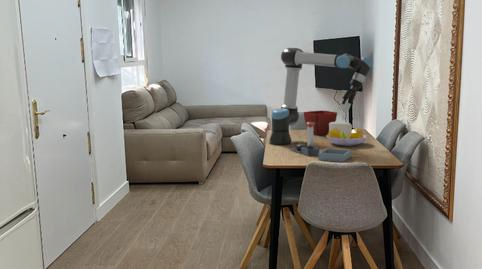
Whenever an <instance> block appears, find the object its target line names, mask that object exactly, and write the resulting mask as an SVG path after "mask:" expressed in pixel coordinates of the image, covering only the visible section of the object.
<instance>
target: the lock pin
mask: <svg viewBox="0 0 482 269" xmlns="http://www.w3.org/2000/svg"><path fill="white" fill-rule="evenodd" d="M306 125H307V126H306ZM313 125H314V123H313V122H307V123H305V126H306V130H307V131H306V132H307V137H306V138H307V140H306V143H307V144H306V145H307V148H308V149H312V148H313V147H314V134H313Z"/></svg>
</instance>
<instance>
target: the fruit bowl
mask: <svg viewBox="0 0 482 269" xmlns="http://www.w3.org/2000/svg"><path fill="white" fill-rule="evenodd" d="M325 137H326V139H327V140H328V141H329V142H330V143H333V145H336V146H342V147H352V146H358V145H360V144H362V143H364V142H365V141H366V140H367V137H368V135H365V134H364V133H363V132H362V130H361V129H360V128H353V129H352V131H351V132H350V133H344V131H342V133H341V131H339V130H338V129H332V130H331V131H329V133H328V134H326V135H325Z"/></svg>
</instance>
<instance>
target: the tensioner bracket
mask: <svg viewBox="0 0 482 269" xmlns="http://www.w3.org/2000/svg"><path fill="white" fill-rule="evenodd" d="M320 150H321V149H320V148H319V147H316V146H313V148H312V149H308V148H307V144H305V143H298V144H295V147H290V151H291V152H293V153H297V154H300V155H304V156H305V157H306V156H307V157H313V156H319V152H320Z"/></svg>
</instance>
